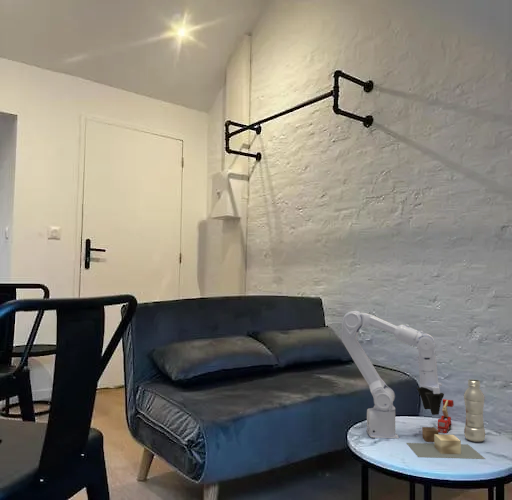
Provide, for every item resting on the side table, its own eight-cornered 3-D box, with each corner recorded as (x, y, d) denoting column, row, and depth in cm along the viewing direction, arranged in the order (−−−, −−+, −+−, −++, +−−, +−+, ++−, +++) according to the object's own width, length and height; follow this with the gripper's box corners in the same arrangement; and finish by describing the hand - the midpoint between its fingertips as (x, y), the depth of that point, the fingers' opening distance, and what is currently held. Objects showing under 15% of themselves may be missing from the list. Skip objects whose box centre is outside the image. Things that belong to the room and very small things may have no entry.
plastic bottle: (488, 441, 162) (487, 380, 163) (481, 445, 157) (480, 383, 158) (468, 436, 166) (468, 377, 167) (460, 441, 161) (460, 380, 163)
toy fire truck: (436, 433, 170) (436, 405, 170) (444, 423, 181) (444, 397, 182) (446, 434, 168) (446, 406, 169) (454, 425, 179) (453, 398, 180)
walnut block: (426, 443, 159) (426, 430, 159) (422, 439, 163) (422, 427, 163) (438, 443, 159) (438, 431, 159) (434, 439, 163) (434, 427, 163)
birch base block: (441, 453, 148) (440, 440, 148) (434, 447, 154) (434, 434, 154) (460, 454, 148) (460, 440, 148) (453, 447, 154) (453, 434, 154)
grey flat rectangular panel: (418, 458, 145) (418, 457, 145) (406, 443, 158) (406, 442, 158) (485, 460, 144) (485, 459, 144) (468, 445, 157) (468, 444, 157)
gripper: (447, 373, 156) (451, 416, 154) (432, 366, 170) (436, 406, 169) (425, 374, 156) (429, 417, 155) (412, 367, 170) (415, 406, 169)
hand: (431, 411), depth 162 cm, fingers open, 7 cm apart
